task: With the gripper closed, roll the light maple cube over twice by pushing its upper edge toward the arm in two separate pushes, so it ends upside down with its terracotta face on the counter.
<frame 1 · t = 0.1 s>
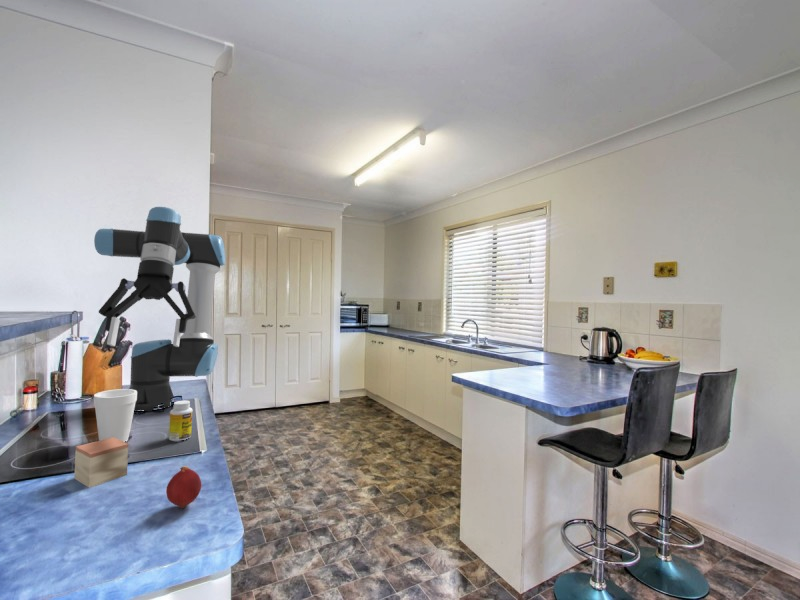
hand: (144, 345, 92), 28 cm above the worktop, tool tilted 20°, fingers open, 13 cm apart
supplement bottle: (180, 439, 107), on the worktop
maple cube: (101, 477, 84), on the worktop
onion: (183, 508, 73), on the worktop
foam cup: (113, 441, 103), on the worktop
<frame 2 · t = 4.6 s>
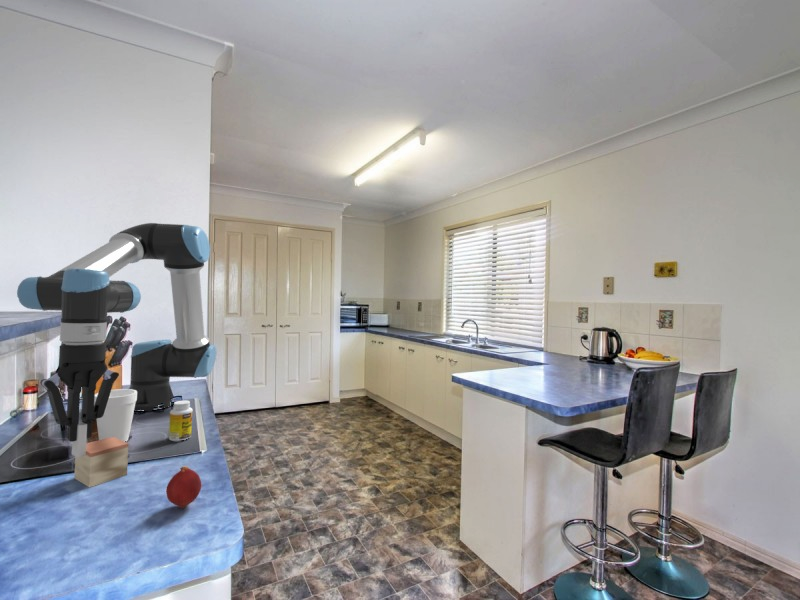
hand: (78, 454, 80), 6 cm above the worktop, tool pointing down, fingers closed
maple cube: (101, 476, 84), on the worktop, touching gripper
everything else where it was.
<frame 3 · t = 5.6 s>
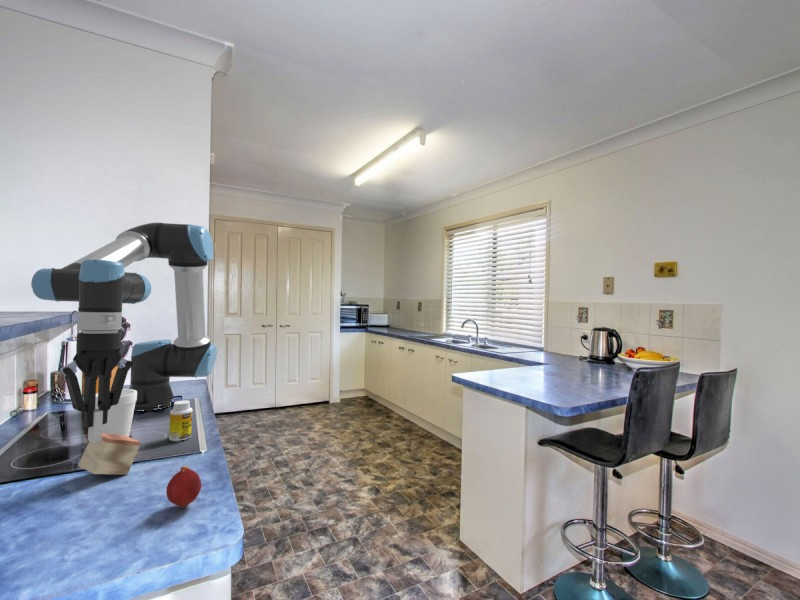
hand: (94, 440, 82), 8 cm above the worktop, tool pointing down, fingers closed
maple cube: (102, 470, 84), point 1 cm above the worktop, tilted 22°, touching gripper
everything else where it was.
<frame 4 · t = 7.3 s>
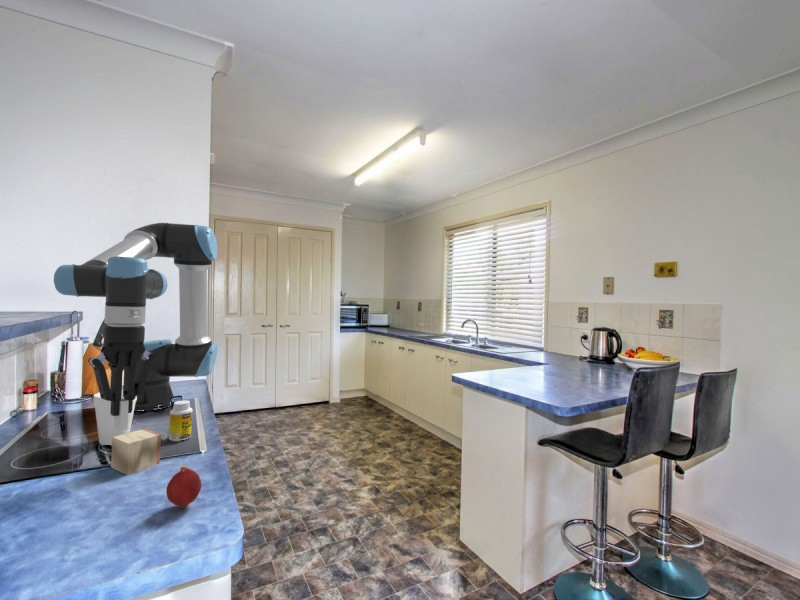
hand: (120, 428, 87), 10 cm above the worktop, tool pointing down, fingers closed
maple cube: (119, 455, 87), point 3 cm above the worktop, tilted 90°
everything else where it was.
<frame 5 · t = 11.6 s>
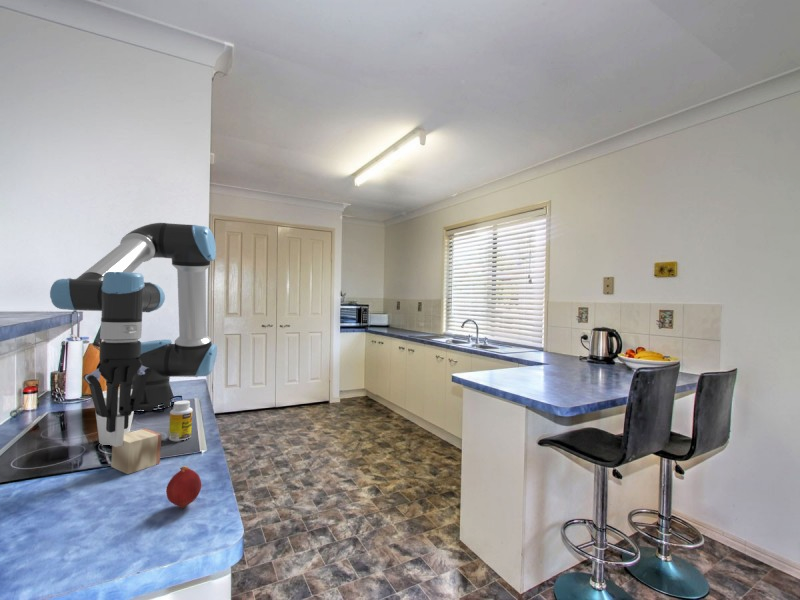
hand: (116, 444, 86), 6 cm above the worktop, tool pointing down, fingers closed
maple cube: (120, 454, 87), point 4 cm above the worktop, tilted 91°, touching gripper
everything else where it was.
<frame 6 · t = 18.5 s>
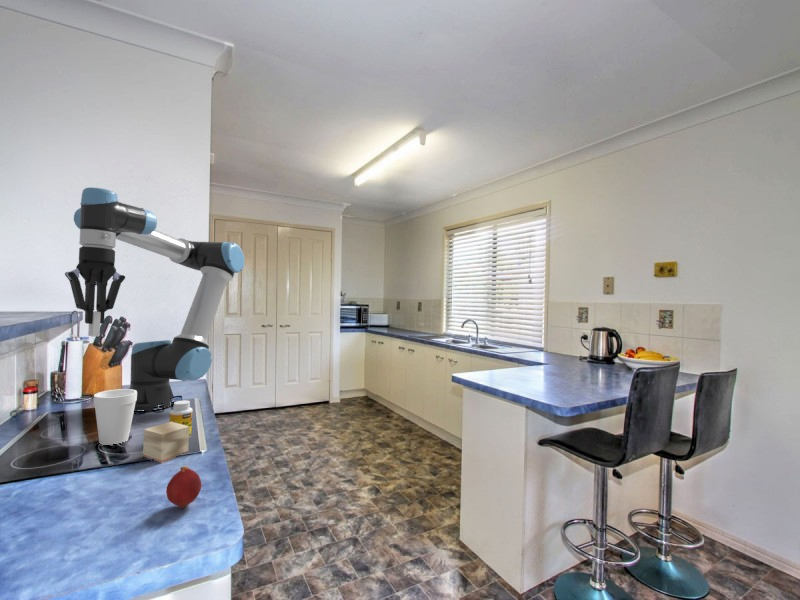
hand: (93, 335, 102), 28 cm above the worktop, tool pointing down, fingers closed
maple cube: (167, 427, 96), point 7 cm above the worktop, tilted 180°
everything else where it was.
at the end: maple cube tilted 180°; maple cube inside the target area (0.4 cm from its centre), point 6.9 cm above the worktop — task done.
